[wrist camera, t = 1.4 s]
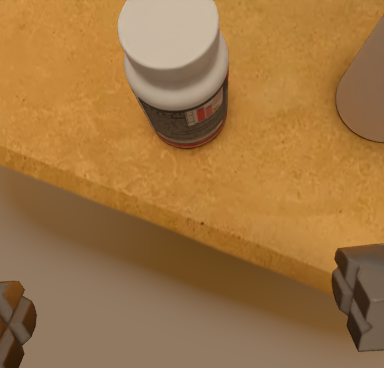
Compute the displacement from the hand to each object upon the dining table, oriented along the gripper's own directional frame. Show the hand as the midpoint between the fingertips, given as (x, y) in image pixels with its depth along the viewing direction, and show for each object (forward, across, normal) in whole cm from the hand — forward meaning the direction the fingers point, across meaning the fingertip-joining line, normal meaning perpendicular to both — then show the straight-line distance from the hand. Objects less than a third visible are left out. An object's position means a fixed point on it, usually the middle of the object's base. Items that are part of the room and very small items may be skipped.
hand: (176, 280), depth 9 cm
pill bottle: (+18, 0, +2) cm, 18 cm away
